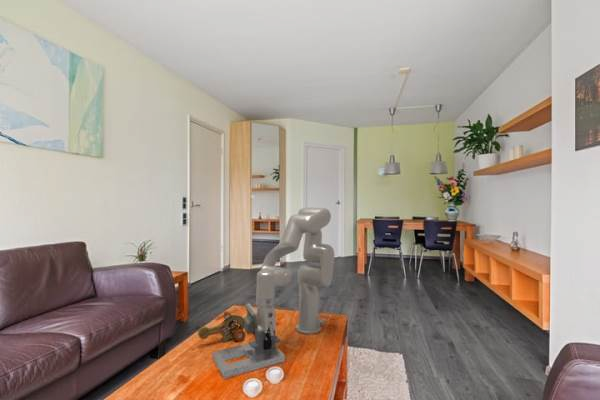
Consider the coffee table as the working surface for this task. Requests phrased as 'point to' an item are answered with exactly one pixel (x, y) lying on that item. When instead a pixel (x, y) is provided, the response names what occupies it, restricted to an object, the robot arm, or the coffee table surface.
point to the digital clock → (250, 319)
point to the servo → (259, 341)
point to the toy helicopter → (226, 327)
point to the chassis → (247, 364)
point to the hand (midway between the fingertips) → (264, 345)
